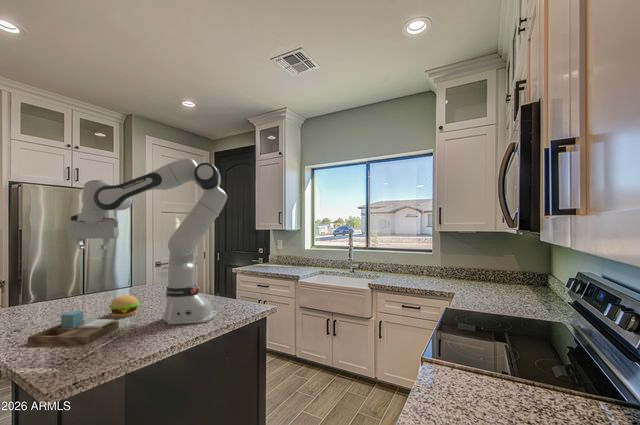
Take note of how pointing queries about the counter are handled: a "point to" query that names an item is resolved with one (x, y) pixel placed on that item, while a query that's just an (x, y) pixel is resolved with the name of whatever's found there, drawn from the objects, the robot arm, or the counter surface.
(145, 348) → the counter surface
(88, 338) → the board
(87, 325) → the cover
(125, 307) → the hamburger
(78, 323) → the block
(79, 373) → the counter surface
